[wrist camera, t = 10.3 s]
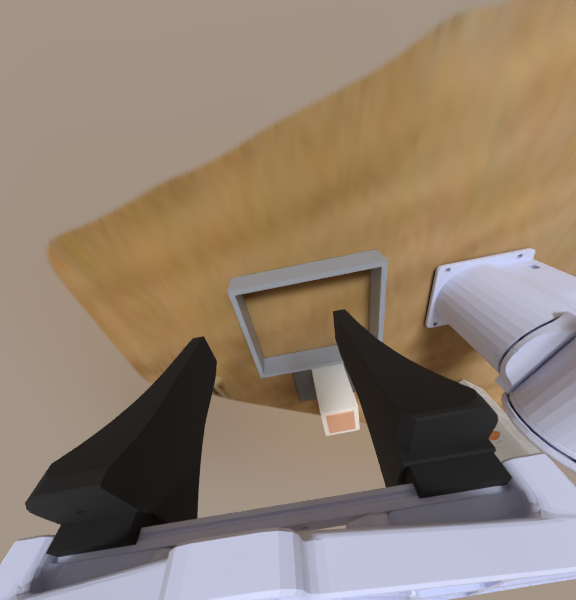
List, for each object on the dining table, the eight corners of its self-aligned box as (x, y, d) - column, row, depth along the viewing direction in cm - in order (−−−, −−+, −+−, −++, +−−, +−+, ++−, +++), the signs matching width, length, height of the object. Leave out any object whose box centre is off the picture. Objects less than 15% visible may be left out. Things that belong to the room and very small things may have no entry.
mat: (360, 348, 29) (362, 351, 29) (361, 387, 33) (362, 390, 33) (290, 361, 29) (290, 365, 29) (299, 398, 34) (300, 401, 33)
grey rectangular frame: (376, 249, 22) (388, 260, 20) (373, 340, 28) (381, 356, 26) (231, 278, 22) (227, 292, 20) (261, 361, 29) (261, 378, 27)
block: (342, 361, 29) (358, 407, 24) (345, 385, 32) (360, 431, 27) (311, 368, 29) (320, 414, 24) (316, 391, 32) (326, 437, 27)
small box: (441, 414, 39) (491, 490, 31) (420, 406, 38) (467, 485, 29) (483, 388, 36) (553, 465, 27) (463, 377, 34) (531, 457, 25)
